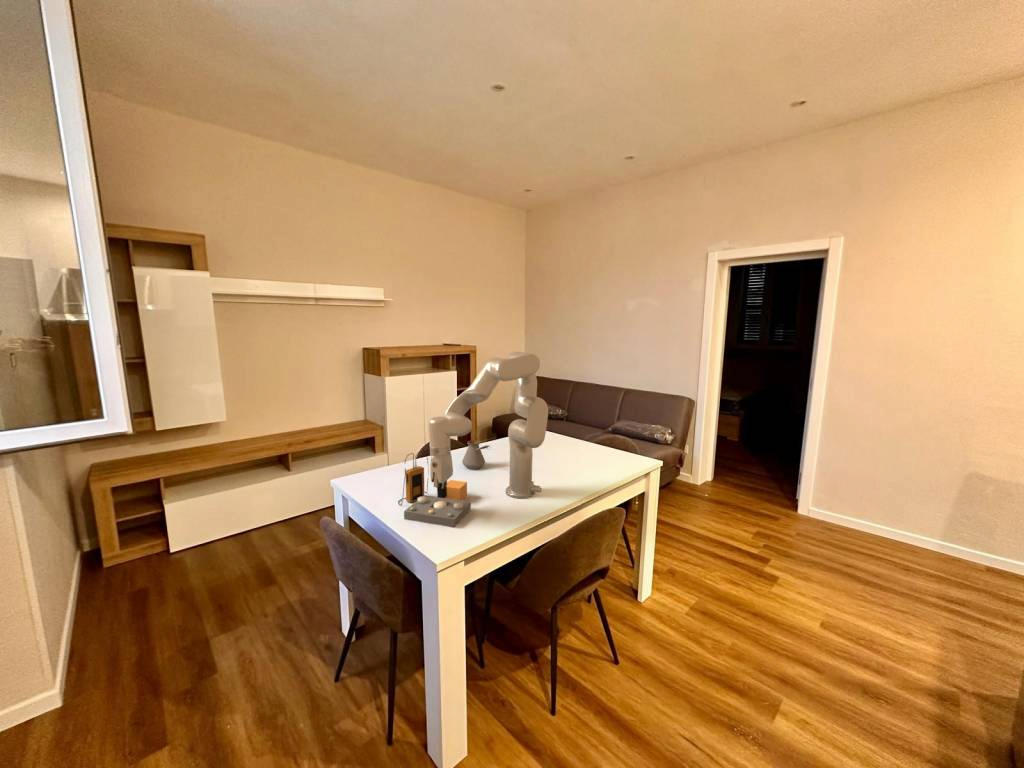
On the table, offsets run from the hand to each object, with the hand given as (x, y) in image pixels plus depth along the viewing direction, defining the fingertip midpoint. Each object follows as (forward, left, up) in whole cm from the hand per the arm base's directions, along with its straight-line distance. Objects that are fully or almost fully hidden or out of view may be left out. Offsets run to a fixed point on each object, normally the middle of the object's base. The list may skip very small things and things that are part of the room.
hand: (442, 496), depth 153 cm
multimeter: (+19, -8, -6) cm, 21 cm away
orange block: (+1, -13, -6) cm, 14 cm away
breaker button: (+1, +1, -6) cm, 6 cm away
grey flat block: (+1, +2, -6) cm, 6 cm away
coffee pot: (+4, -47, -6) cm, 47 cm away
